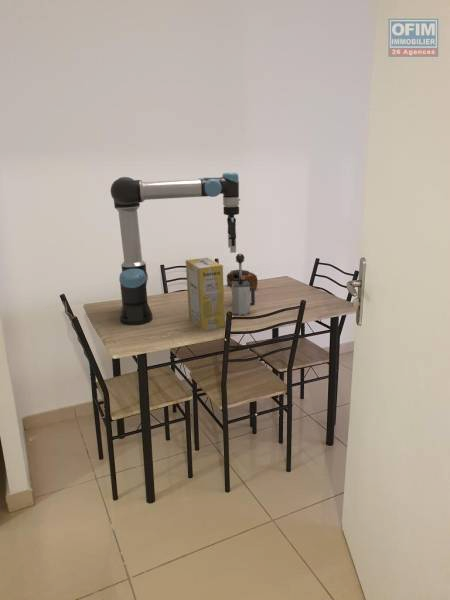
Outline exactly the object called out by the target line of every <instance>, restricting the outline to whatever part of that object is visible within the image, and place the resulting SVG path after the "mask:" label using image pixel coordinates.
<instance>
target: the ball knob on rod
mask: <svg viewBox="0 0 450 600" xmlns="http://www.w3.org/2000/svg"><path fill="white" fill-rule="evenodd" d="M236 260H237V261H238V262H237V263H238V270H239V284H241V283H242V270H243V267H242V265H243V261H244V262H245V256H244V254H243V253H238V254H236V256H235V261H236Z"/></svg>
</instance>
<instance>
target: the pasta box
mask: <svg viewBox="0 0 450 600" xmlns="http://www.w3.org/2000/svg"><path fill="white" fill-rule="evenodd" d="M185 271H186V287H187V290H186V291H187V304H188V305H187V307H188V320H190V321H191V322H192V323H193V324H195V325H196V326H197V327H198V328H199V329H200V330H201V331H203V332H204V331H209V330H214V329H219V328H225V327H226V322H225V319H226V317H225V295H224V294H225V293H224V291H225V290H224V265H223V264H221V263H219V262H217V261H215V260H212V258H211V259H210V258H208V257H203V258H201V257H200V258H194V259H186V260H185Z"/></svg>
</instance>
